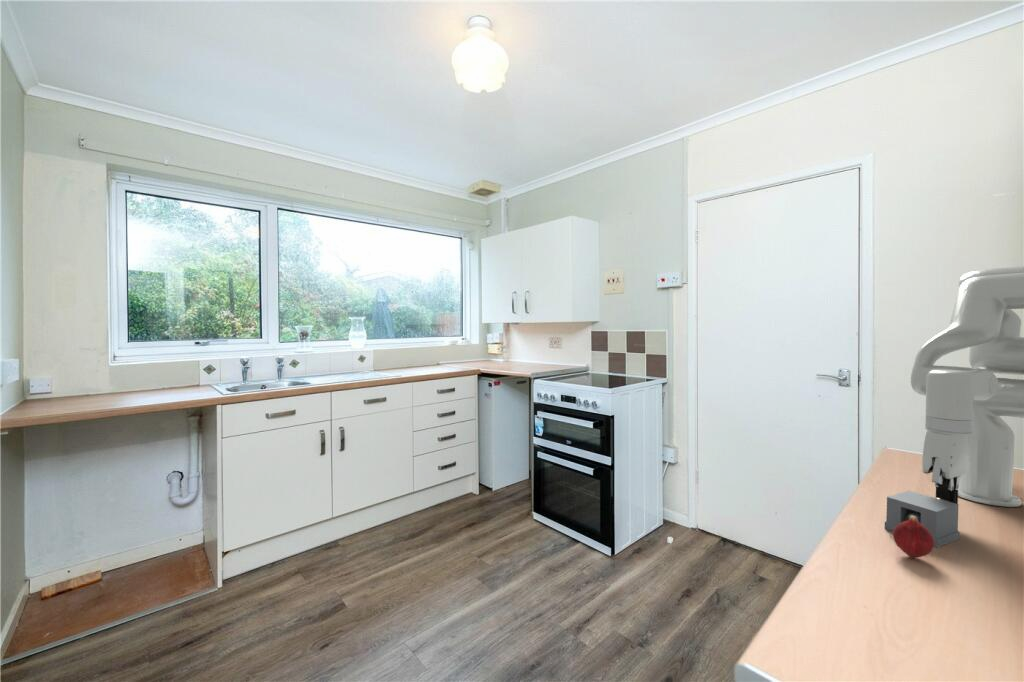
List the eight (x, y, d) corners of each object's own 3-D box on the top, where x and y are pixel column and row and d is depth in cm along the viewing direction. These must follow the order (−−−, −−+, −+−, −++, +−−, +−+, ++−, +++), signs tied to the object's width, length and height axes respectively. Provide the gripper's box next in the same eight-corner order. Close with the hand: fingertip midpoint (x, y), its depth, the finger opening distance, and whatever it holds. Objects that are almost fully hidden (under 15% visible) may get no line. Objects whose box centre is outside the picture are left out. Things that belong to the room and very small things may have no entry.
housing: (906, 521, 99) (907, 490, 99) (959, 538, 91) (960, 504, 91) (884, 528, 96) (885, 496, 95) (937, 547, 87) (938, 512, 87)
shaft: (927, 515, 99) (928, 494, 99) (956, 524, 95) (957, 502, 95) (897, 525, 94) (898, 503, 94) (926, 536, 90) (927, 512, 89)
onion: (941, 567, 80) (943, 525, 80) (905, 564, 81) (906, 522, 81) (919, 551, 86) (920, 511, 86) (885, 548, 87) (886, 509, 87)
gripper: (943, 418, 103) (941, 493, 104) (909, 425, 97) (908, 505, 98) (987, 424, 96) (985, 505, 97) (954, 432, 90) (952, 518, 91)
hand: (946, 505), depth 98 cm, fingers closed
